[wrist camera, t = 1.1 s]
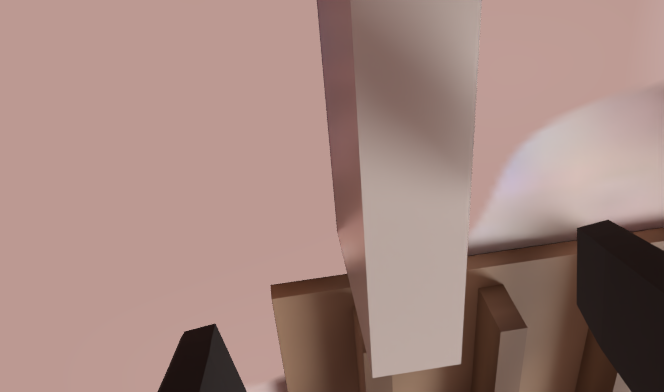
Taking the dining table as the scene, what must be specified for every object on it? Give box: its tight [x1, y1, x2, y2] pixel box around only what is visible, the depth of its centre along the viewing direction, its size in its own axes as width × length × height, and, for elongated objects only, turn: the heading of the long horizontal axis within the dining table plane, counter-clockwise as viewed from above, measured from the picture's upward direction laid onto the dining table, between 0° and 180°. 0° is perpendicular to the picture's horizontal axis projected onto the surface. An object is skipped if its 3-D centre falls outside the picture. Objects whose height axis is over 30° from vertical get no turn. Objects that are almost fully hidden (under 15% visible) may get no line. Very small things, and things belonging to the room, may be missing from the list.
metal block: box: [317, 0, 482, 378], centre depth 16 cm, size 2×12×7 cm, turn 5°
